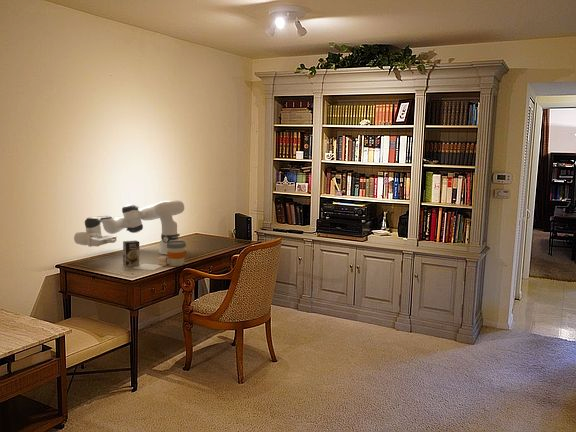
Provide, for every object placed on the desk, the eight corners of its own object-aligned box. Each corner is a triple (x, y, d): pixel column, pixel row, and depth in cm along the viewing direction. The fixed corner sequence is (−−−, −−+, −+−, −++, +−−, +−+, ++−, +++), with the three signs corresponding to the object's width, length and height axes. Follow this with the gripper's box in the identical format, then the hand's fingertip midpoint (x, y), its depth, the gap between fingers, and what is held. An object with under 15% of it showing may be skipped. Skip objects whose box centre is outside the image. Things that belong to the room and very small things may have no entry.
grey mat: (144, 264, 351) (144, 263, 351) (163, 265, 347) (163, 265, 347) (132, 268, 338) (132, 268, 338) (152, 270, 334) (152, 270, 334)
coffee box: (126, 267, 341) (125, 242, 338) (122, 265, 346) (122, 241, 344) (139, 265, 346) (139, 241, 344) (136, 263, 351) (136, 240, 349)
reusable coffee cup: (189, 264, 351) (189, 242, 349) (172, 267, 343) (171, 245, 341) (181, 261, 361) (180, 239, 358) (164, 264, 353) (163, 242, 351)
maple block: (160, 263, 354) (160, 256, 353) (167, 263, 354) (167, 256, 353) (158, 265, 349) (158, 258, 348) (165, 265, 349) (165, 258, 348)
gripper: (105, 241, 361) (123, 243, 357) (86, 246, 341) (105, 248, 337) (105, 232, 360) (123, 234, 356) (86, 237, 340) (104, 238, 337)
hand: (114, 241), depth 347 cm, fingers closed
